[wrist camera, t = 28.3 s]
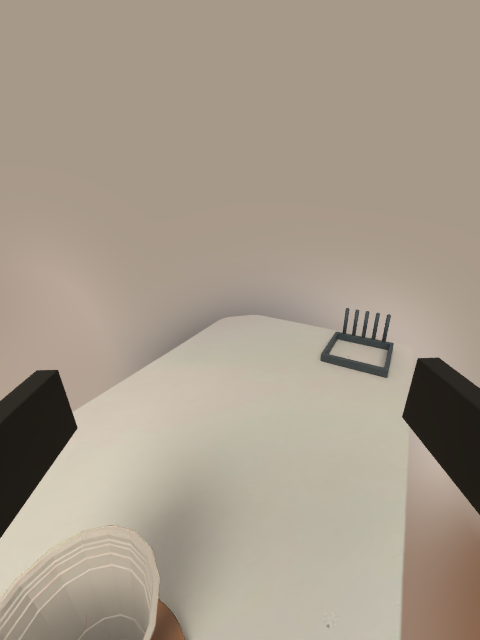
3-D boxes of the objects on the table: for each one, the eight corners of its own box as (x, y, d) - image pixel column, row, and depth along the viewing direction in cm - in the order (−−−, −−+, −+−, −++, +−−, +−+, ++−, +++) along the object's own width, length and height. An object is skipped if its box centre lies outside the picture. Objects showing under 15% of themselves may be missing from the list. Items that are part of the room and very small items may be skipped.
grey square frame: (386, 377, 58) (395, 339, 54) (320, 360, 65) (324, 325, 61) (392, 349, 69) (399, 315, 65) (335, 337, 76) (339, 306, 72)
